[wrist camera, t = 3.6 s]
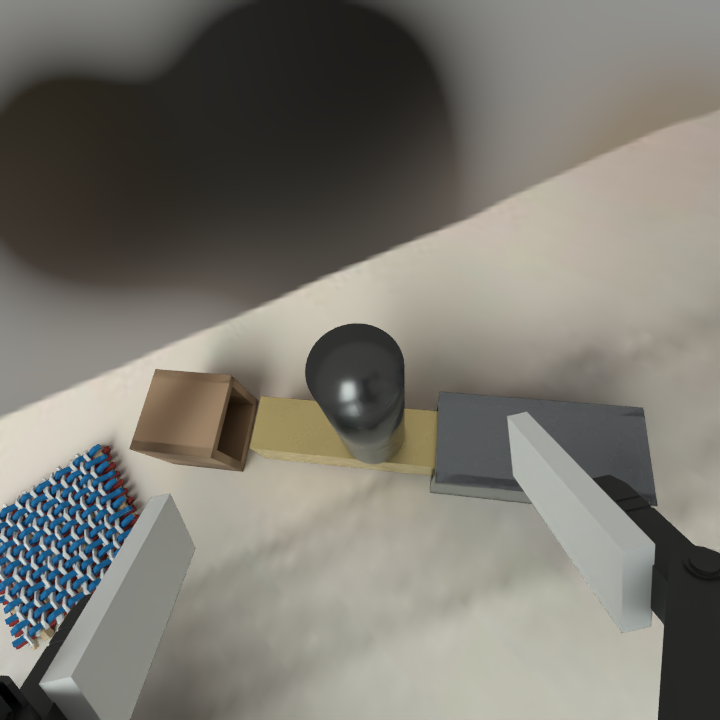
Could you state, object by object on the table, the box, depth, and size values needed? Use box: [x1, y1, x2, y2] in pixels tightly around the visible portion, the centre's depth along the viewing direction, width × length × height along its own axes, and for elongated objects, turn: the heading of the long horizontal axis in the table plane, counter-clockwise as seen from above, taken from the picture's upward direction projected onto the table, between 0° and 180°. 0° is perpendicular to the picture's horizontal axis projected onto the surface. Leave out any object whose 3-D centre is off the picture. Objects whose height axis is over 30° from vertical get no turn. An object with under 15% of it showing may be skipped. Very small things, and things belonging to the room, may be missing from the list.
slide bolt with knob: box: [250, 324, 438, 476], centre depth 23 cm, size 23×4×15 cm, turn 83°
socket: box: [130, 369, 258, 472], centre depth 31 cm, size 6×6×6 cm
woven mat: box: [0, 444, 140, 651], centre depth 31 cm, size 10×11×2 cm
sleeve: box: [430, 392, 657, 507], centre depth 27 cm, size 12×6×6 cm, turn 83°
